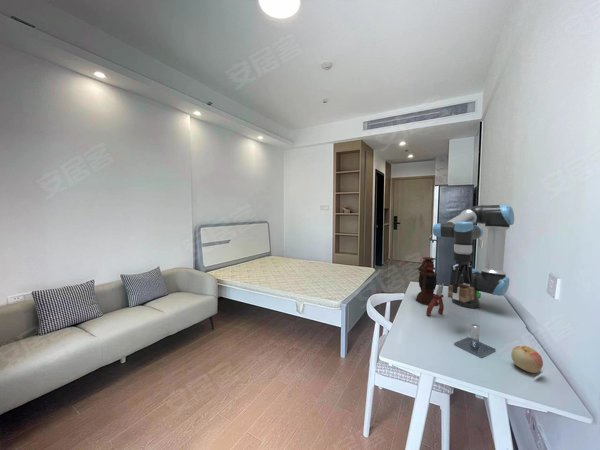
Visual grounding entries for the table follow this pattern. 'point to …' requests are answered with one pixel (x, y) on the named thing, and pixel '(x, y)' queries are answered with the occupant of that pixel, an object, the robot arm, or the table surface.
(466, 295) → the brown boxy piece
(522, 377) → the table surface
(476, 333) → the plate with upright peg
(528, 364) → the apple
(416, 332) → the table surface
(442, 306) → the pliers
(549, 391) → the table surface
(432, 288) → the lantern
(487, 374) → the table surface
